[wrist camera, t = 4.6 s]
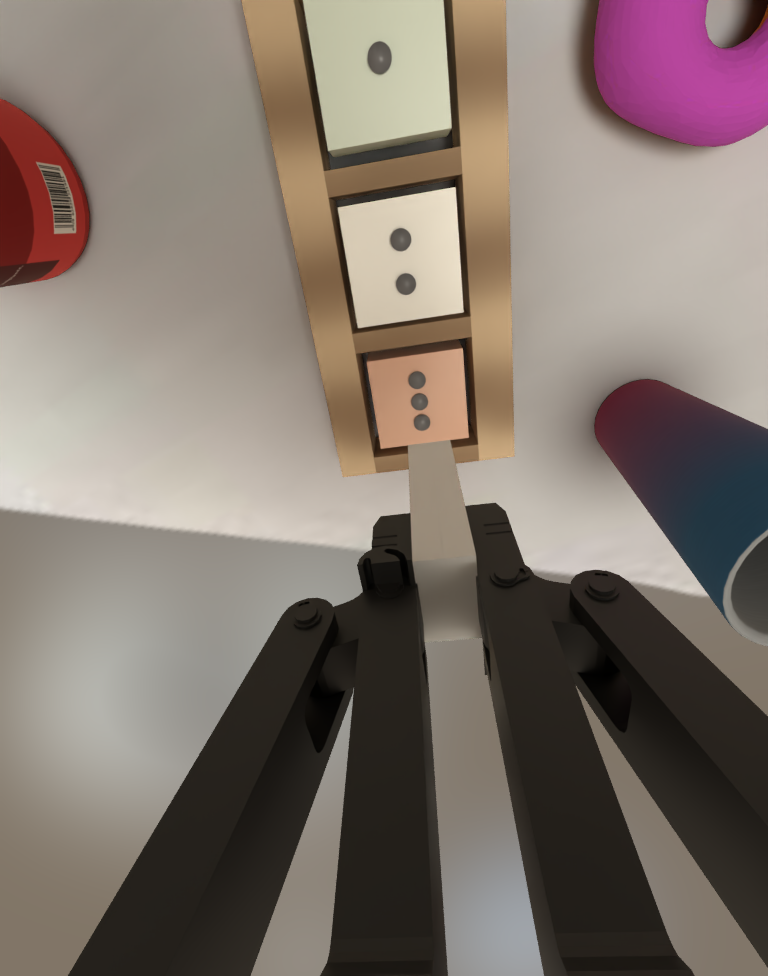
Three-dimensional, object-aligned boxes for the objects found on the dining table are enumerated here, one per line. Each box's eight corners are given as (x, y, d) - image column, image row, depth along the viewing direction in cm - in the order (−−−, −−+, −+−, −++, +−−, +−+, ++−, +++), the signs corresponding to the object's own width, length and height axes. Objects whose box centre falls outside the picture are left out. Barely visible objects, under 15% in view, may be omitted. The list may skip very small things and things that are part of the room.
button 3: (368, 352, 27) (366, 362, 25) (458, 339, 26) (463, 349, 24) (381, 434, 29) (380, 450, 27) (464, 424, 29) (469, 439, 27)
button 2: (342, 208, 22) (337, 207, 20) (450, 190, 22) (456, 186, 20) (360, 320, 25) (357, 329, 23) (458, 305, 24) (464, 312, 22)
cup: (589, 482, 31) (726, 667, 18) (569, 387, 28) (718, 527, 15) (699, 449, 30) (932, 623, 17) (690, 346, 27) (966, 460, 14)
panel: (253, -7, 20) (232, -42, 18) (489, -59, 20) (503, -103, 17) (347, 455, 31) (342, 477, 28) (504, 436, 30) (514, 456, 27)
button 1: (309, 5, 19) (298, -21, 17) (435, -22, 18) (440, -52, 16) (333, 157, 21) (327, 150, 19) (446, 136, 21) (452, 127, 19)
